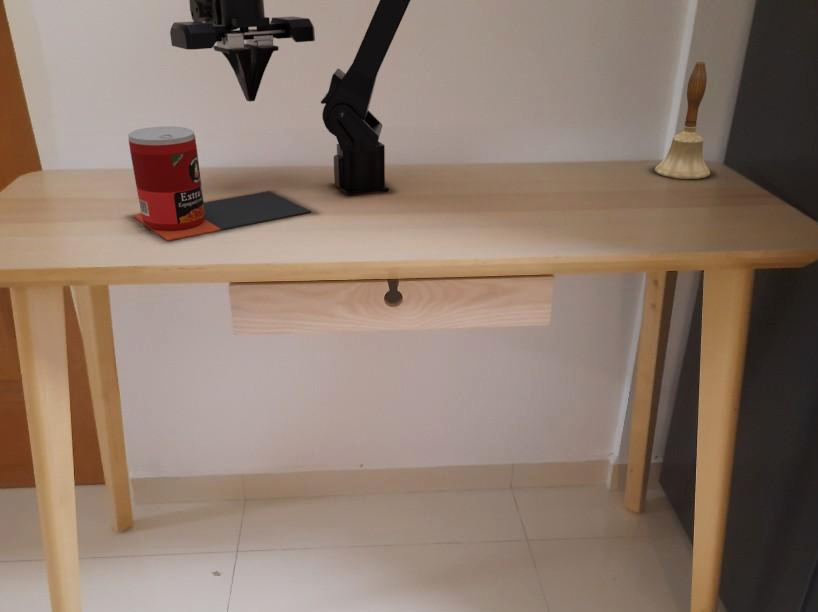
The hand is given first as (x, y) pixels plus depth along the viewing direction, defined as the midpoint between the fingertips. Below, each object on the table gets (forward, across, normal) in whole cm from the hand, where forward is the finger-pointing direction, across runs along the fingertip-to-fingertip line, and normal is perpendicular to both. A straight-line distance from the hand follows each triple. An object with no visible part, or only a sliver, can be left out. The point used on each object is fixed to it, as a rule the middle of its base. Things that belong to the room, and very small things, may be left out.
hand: (250, 100), depth 108 cm
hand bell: (+12, -58, +31) cm, 67 cm away
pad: (+12, +16, +9) cm, 22 cm away
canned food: (+12, +17, +9) cm, 23 cm away
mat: (+12, +6, +9) cm, 17 cm away
